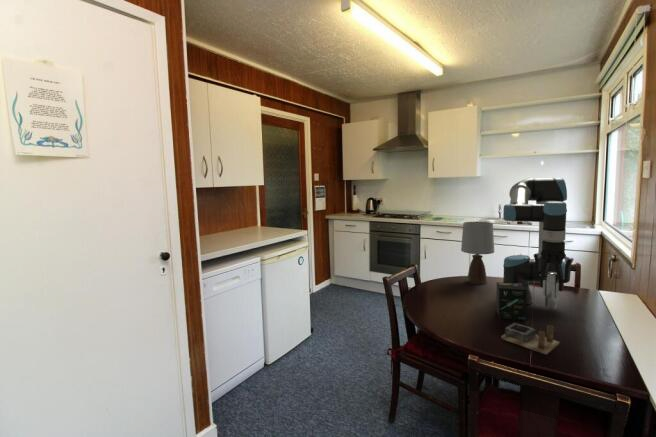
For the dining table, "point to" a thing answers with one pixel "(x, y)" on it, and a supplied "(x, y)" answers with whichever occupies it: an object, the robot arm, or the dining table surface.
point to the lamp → (477, 248)
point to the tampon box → (511, 301)
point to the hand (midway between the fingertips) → (551, 296)
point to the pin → (551, 290)
